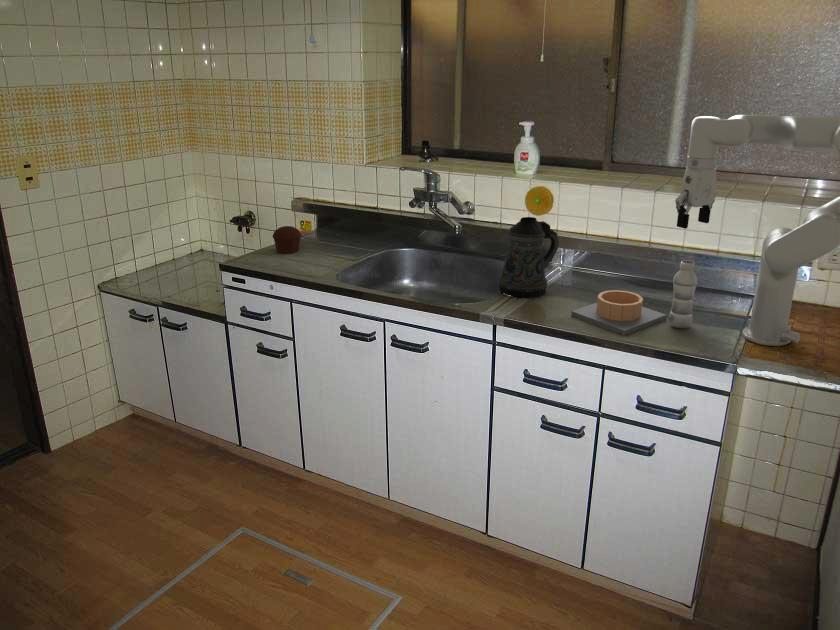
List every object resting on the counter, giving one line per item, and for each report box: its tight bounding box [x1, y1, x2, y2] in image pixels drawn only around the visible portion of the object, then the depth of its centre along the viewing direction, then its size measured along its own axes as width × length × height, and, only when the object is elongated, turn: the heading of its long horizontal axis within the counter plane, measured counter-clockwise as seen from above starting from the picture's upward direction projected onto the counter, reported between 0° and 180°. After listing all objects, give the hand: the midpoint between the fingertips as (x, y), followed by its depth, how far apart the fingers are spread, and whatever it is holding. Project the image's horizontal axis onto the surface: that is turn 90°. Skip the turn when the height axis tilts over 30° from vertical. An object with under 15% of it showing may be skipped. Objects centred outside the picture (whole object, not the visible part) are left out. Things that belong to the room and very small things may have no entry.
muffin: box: [272, 225, 303, 255], centre depth 288 cm, size 12×11×10 cm
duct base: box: [571, 289, 667, 336], centre depth 217 cm, size 20×20×6 cm
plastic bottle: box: [668, 259, 698, 329], centre depth 207 cm, size 6×7×20 cm
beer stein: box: [497, 216, 560, 299], centre depth 238 cm, size 16×19×25 cm
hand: (692, 224), depth 200 cm, fingers open, 9 cm apart
